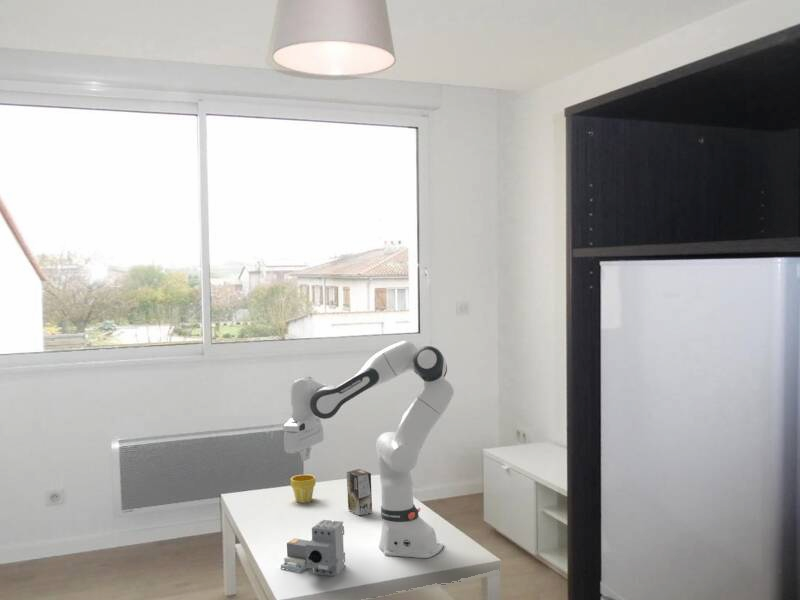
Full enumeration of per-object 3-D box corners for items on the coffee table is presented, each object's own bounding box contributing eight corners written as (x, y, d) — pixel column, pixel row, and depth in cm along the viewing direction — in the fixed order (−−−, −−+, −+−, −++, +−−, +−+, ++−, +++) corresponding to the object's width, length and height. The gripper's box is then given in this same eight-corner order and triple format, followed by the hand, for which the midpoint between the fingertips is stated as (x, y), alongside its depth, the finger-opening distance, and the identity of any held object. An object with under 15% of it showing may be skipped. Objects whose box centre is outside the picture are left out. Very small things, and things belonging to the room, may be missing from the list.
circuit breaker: (304, 581, 231) (302, 534, 231) (325, 563, 245) (323, 519, 244) (326, 584, 229) (324, 537, 228) (345, 566, 242) (343, 521, 241)
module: (315, 559, 246) (314, 541, 245) (307, 564, 242) (306, 546, 241) (295, 555, 249) (294, 537, 249) (287, 560, 245) (286, 542, 245)
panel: (324, 556, 251) (324, 547, 251) (301, 572, 238) (300, 563, 238) (305, 553, 255) (304, 544, 254) (280, 568, 242) (280, 559, 242)
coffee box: (373, 513, 293) (371, 473, 292) (359, 516, 290) (357, 476, 289) (361, 507, 301) (359, 468, 300) (347, 510, 297) (346, 471, 296)
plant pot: (306, 494, 320) (305, 472, 319) (321, 499, 312) (320, 477, 312) (286, 500, 313) (285, 478, 312) (300, 506, 305) (299, 482, 305)
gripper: (312, 415, 277) (314, 452, 277) (280, 427, 259) (281, 466, 259) (326, 416, 274) (328, 453, 275) (294, 428, 256) (296, 467, 256)
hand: (305, 459), depth 267 cm, fingers closed
